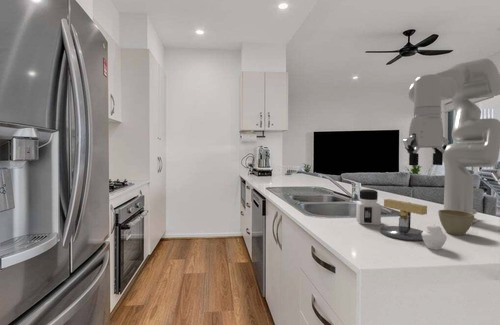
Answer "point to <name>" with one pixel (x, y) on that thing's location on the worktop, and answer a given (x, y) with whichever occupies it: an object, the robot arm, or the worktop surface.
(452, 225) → the olive brown bowl
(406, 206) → the tan t-shaped block
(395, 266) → the worktop surface
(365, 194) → the container
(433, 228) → the white rounded lump
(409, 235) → the post base
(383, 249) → the worktop surface
